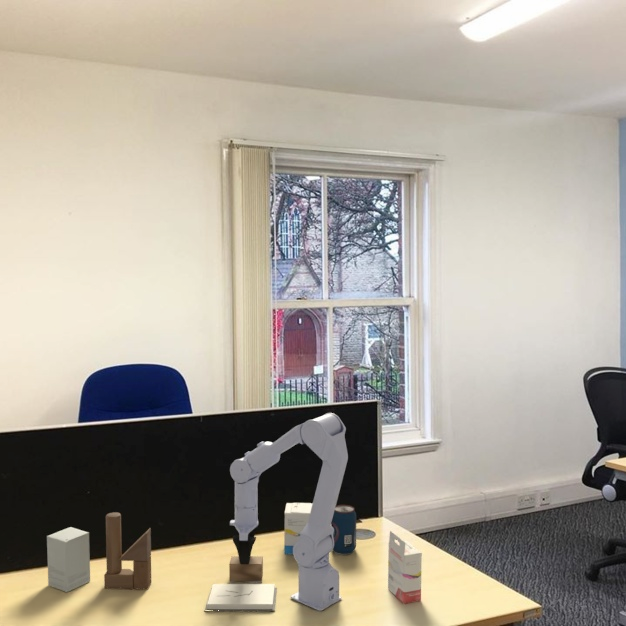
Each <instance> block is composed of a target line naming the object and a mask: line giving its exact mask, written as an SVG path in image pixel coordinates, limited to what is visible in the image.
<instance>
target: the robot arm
mask: <svg viewBox="0 0 626 626" xmlns="http://www.w3.org/2000/svg"><path fill="white" fill-rule="evenodd" d="M346 431H347V428H346V426H345V424H344V423H343V421H342V420H341V418H340V417H339V415H337V414H335V413H334V412H333V413H332V412H327V413H325V414H323V415H321V416H318V417H315V418H313V419H308V420H306V421H305V422H303V423H301V424H298V425H296V426H294V427H292V428H291V429H290V430H289V431H287V432H285V434H283V435H281V436H280V437H279V438H278V439H277V440H275V441H273V442H272V441H261V442H259V443H257V444H256V448H254V449H253V450H251V451H247V452H245V453H244V456H243V457H241V458H237V459H235V460H233V462H232V463H230V467H229V472H230V473H229V474H230V476H231V478H232V479H233V481H234V519H231V520H230V521H229V526H234V527H235V529H236V531H237V532H238V534H239V535H233V536H232V542H233V544H234V546H235V549H236V550H237V556H239V561H240V564H249V562H250V556H252V555H251V554H252V550H253V547H254V544H255V542H256V540H257V537H256V536H255V535H256V531H257V529H258V527H259V524H260V522H259V519H258V515H259V513H258V503H259V501H258V500H259V499H258V497H259V496H258V495H259V494H258V491H259V490H258V484H259V482H260V476H261V474H262V473H264V472H265V471H266V470H268V469H269V468H271V467H272V466H274V465H276V464H277V463H279V461H280V460H281V459H280V458H281V454H283V453H284V452H286V451H288V450H289V449H292V447H294V446H295V445H298V444H301V445H306V446H307V447H308V448H309V449H310V450H311V451H312V452H314V454H316V456H317V457H318V458H319V459H321V460H322V466H321V469H320V473H319V477H318V482H317V485H316V489H315V493H314V497H313V500H312V503H313V504H312V508H311V512H310V516H309V520H308V523H307V525H306V526H305V528H304V529H303V531H302V532H301V534H300V538H299V540H298V541H297V542H296V543H295V544H294V546H293V554H292V555H293V558H294V560H295V562H296V563H297V566H298V591H297V592H296V593H294V594H292V595H290V598H291V599H292V600H294V601H296V602H298V603H301V604H303V605H305V606H308V607H310V608H311V609H315V610H316V611H319V612H320V611H323V610H325V609H326V608H328V607H330V606H332V605H334V604H335V603H337V602H339V601H340V600H342V596H340V573H339V571H338V570H337V569H336V568H335V567H334V566H332V564H331V563H330V553H331V552H332V551H333V548H334V538H333V533H334V528H333V527H332V526H331V522H332V518H333V514H334V510H335V507H336V506H337V503H338V499H339V494H340V490H341V487H342V484H343V480H344V475H345V471H346V468H347V463H348V460H349V454H348V448H347V443H346V438H345V437H346V436H345V434H346Z"/></svg>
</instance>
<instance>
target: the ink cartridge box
mask: <svg viewBox="0 0 626 626" xmlns="http://www.w3.org/2000/svg"><path fill="white" fill-rule="evenodd" d="M388 537H389V539H388V562H387V563H388V565H387V566H388V568H387V570H388V571H387V589H388V590H389V591H390V592H391V593H392V594H393V595H394V596H395V597H396V598H397V599H398V600H400V602H402V604H411V603H414V602H421V601H422V554H423V553H422V552H421V551H420V550H419V549H418V548H417V547H414V545H412V544H411V543H410V542H409V541H408V540H406V539H401V538H400V536H398V535H397V534H395V533H394V532H393V531H392V530H390V531H389V536H388Z"/></svg>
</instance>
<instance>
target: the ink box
mask: <svg viewBox="0 0 626 626" xmlns="http://www.w3.org/2000/svg"><path fill="white" fill-rule="evenodd" d="M312 504H313V502H312V503H311V502H286V504H285V509H284V535H283V537H284V540H283V541H284V542H283V543H284V549H283V553H284V555H293V546H294V544H295V543H296V542H297V541H298V540H299V538H300V534H301V532H302V531H303V529H304V528H305V526H306V525H307V523H308V520H309V516H310V512H311V508H312Z"/></svg>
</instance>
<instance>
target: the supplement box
mask: <svg viewBox="0 0 626 626" xmlns="http://www.w3.org/2000/svg"><path fill="white" fill-rule="evenodd" d="M46 548H47V550H46V551H47V553H46V554H47V582H48V583H47V584H48V586H49V587H51V588H54V589H58V590H60V591H63V592H65V593H68V592H70V591H72V590H75V589H77V588H79V587H82V586H83V585H84V586H85V585H86V584H87V583H90V582H91V563H90V562H91V559H90V532H89V531H85V530H81V529H79V528H76V527H72V526H70V527H67V528H64V529H62V530H59V531H56V532H54V533H52V534H49V535H46Z"/></svg>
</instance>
